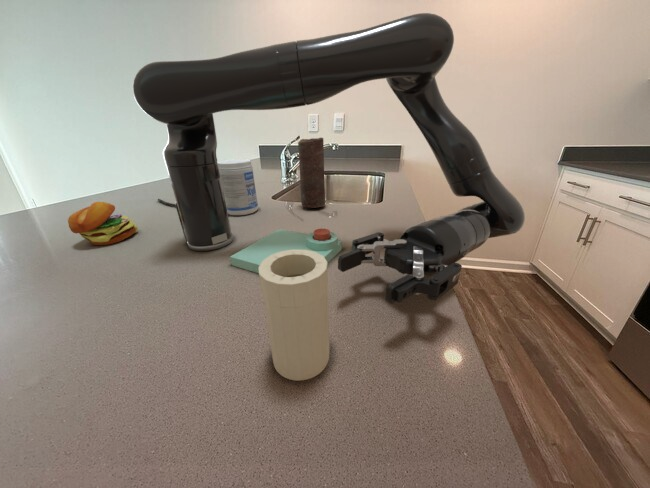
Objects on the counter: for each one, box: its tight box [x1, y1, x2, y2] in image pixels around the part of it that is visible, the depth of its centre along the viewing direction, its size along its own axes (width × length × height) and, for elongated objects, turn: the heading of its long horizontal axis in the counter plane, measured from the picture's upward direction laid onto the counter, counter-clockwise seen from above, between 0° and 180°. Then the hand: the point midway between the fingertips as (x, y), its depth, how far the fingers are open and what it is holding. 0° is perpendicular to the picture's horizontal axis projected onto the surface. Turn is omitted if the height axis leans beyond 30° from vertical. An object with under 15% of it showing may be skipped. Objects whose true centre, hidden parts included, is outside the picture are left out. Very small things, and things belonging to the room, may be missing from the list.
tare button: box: [313, 228, 331, 241], centre depth 51 cm, size 3×3×2 cm
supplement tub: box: [217, 158, 259, 216], centre depth 75 cm, size 10×10×15 cm
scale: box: [229, 228, 343, 274], centre depth 50 cm, size 16×15×4 cm
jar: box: [258, 250, 331, 382], centre depth 27 cm, size 6×6×12 cm
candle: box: [297, 137, 326, 209], centre depth 76 cm, size 8×7×20 cm
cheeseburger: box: [67, 201, 139, 246], centre depth 59 cm, size 10×11×10 cm
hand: (361, 278), depth 31 cm, fingers open, 8 cm apart
